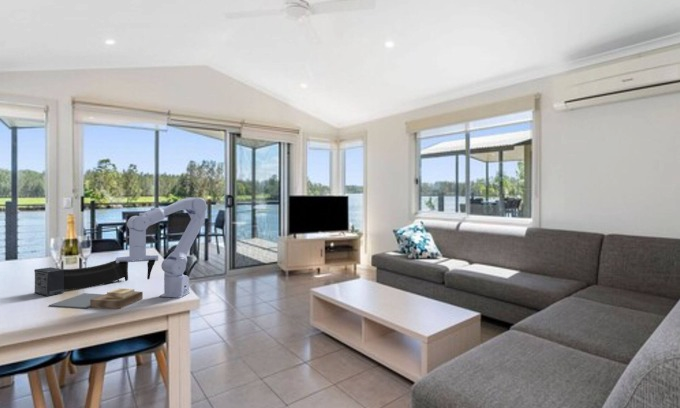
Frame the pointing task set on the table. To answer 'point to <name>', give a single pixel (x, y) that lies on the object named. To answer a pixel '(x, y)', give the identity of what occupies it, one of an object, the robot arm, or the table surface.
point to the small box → (49, 281)
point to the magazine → (92, 276)
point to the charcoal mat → (77, 301)
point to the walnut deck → (115, 301)
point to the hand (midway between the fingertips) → (137, 279)
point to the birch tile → (120, 293)
